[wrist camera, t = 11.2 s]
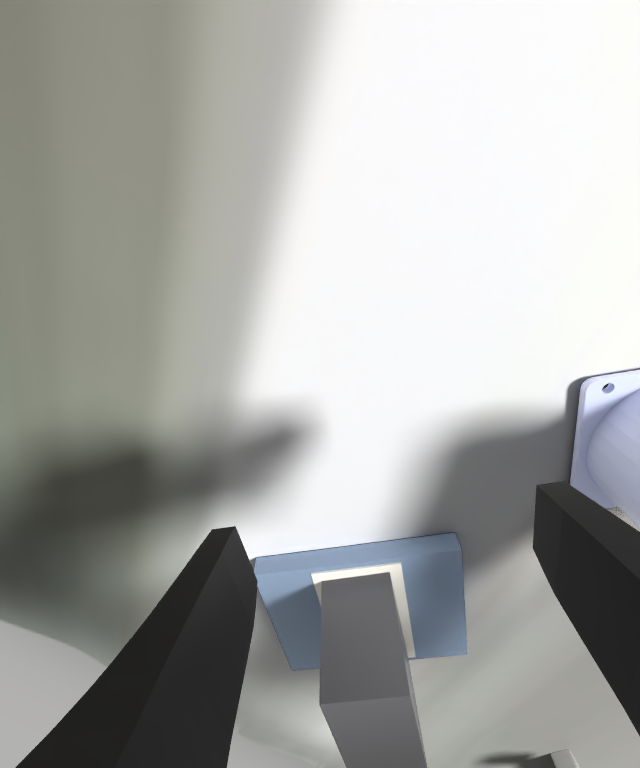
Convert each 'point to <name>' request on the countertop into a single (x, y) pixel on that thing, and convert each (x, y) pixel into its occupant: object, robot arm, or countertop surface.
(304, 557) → the header board
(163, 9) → the countertop surface
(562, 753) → the lighter
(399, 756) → the block
